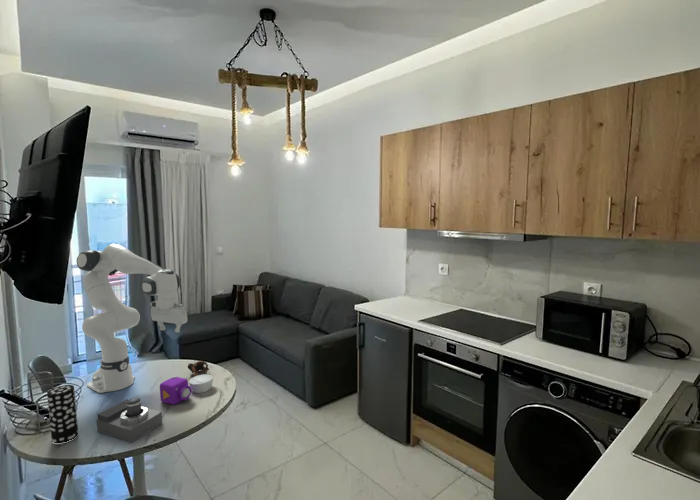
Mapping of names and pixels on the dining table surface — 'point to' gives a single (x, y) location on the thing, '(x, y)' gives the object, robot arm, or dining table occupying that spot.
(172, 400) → the toy camera
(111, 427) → the camera body
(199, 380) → the ramekin
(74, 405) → the spotted tube
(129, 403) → the lens
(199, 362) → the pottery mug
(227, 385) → the dining table surface
